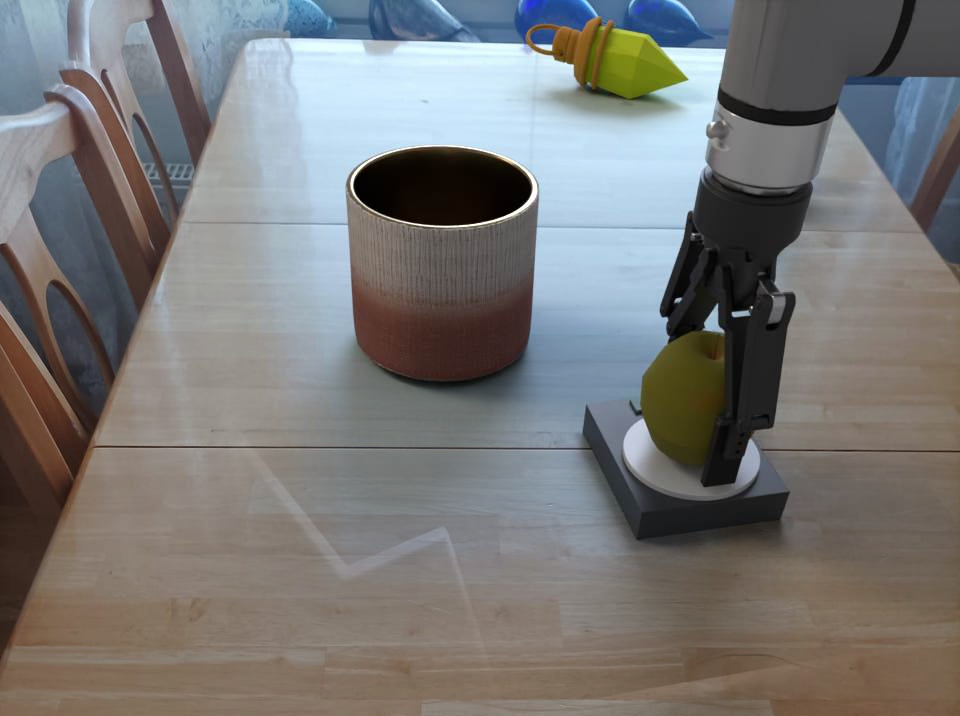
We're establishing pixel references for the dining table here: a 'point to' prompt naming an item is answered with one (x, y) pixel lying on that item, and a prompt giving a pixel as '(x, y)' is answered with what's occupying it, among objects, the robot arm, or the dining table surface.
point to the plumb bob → (612, 58)
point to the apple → (685, 395)
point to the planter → (442, 260)
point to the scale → (675, 478)
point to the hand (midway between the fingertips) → (693, 443)
